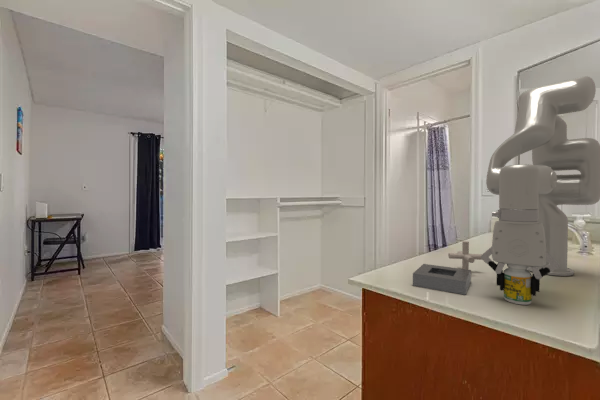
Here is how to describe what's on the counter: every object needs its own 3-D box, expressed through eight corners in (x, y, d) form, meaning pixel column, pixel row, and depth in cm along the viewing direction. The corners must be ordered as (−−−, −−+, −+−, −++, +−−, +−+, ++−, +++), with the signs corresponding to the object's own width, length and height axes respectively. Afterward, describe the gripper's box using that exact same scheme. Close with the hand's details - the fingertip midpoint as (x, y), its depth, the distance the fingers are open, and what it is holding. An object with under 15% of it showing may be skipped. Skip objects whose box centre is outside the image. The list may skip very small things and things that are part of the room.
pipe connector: (489, 276, 88) (489, 244, 88) (454, 275, 90) (454, 243, 90) (475, 268, 98) (476, 239, 97) (444, 267, 100) (444, 238, 99)
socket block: (423, 274, 91) (423, 263, 91) (470, 281, 83) (470, 270, 83) (412, 285, 80) (412, 273, 80) (465, 295, 72) (465, 281, 72)
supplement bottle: (536, 303, 67) (536, 262, 67) (523, 307, 65) (523, 265, 64) (511, 295, 72) (511, 258, 72) (498, 299, 70) (498, 260, 69)
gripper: (474, 216, 70) (474, 288, 70) (569, 219, 60) (568, 304, 60) (477, 214, 76) (476, 281, 76) (564, 217, 66) (562, 294, 66)
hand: (517, 290), depth 68 cm, fingers closed on supplement bottle, 5 cm apart
